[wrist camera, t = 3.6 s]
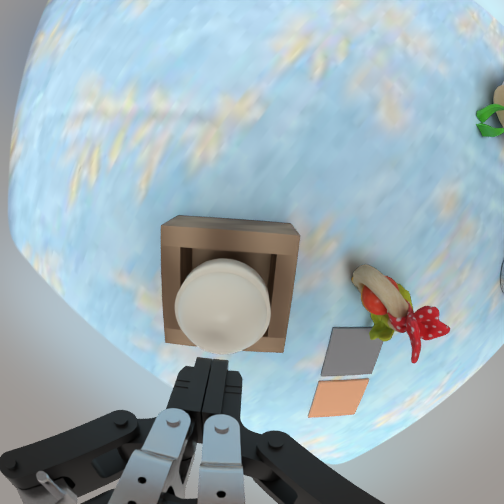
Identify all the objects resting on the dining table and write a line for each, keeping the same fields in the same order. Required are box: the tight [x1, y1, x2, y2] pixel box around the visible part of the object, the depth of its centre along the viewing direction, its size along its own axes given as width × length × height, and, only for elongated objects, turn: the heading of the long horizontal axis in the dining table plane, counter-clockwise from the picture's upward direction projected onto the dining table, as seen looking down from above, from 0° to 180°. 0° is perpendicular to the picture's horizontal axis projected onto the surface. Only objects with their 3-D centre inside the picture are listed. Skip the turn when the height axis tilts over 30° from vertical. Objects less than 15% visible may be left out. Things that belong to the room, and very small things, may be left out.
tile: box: [308, 378, 369, 418], centre depth 30 cm, size 6×6×1 cm
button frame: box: [161, 215, 300, 353], centre depth 23 cm, size 10×10×5 cm
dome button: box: [175, 258, 271, 355], centre depth 19 cm, size 6×6×7 cm
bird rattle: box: [351, 264, 450, 363], centre depth 22 cm, size 6×11×9 cm
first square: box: [321, 327, 383, 376], centre depth 28 cm, size 6×6×1 cm
